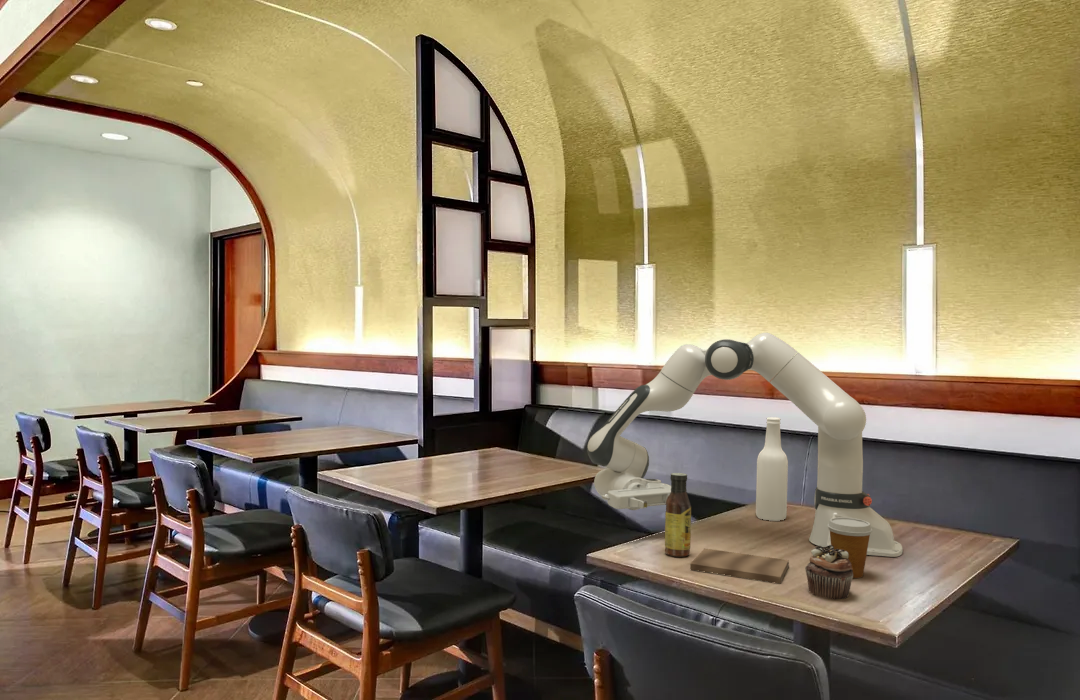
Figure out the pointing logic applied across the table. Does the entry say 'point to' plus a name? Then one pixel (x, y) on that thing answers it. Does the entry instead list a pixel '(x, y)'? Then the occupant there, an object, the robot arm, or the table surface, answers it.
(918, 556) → the table surface
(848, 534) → the disposable coffee cup
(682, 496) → the sauce bottle
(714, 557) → the walnut board
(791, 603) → the table surface
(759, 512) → the alcohol
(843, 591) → the cupcake
